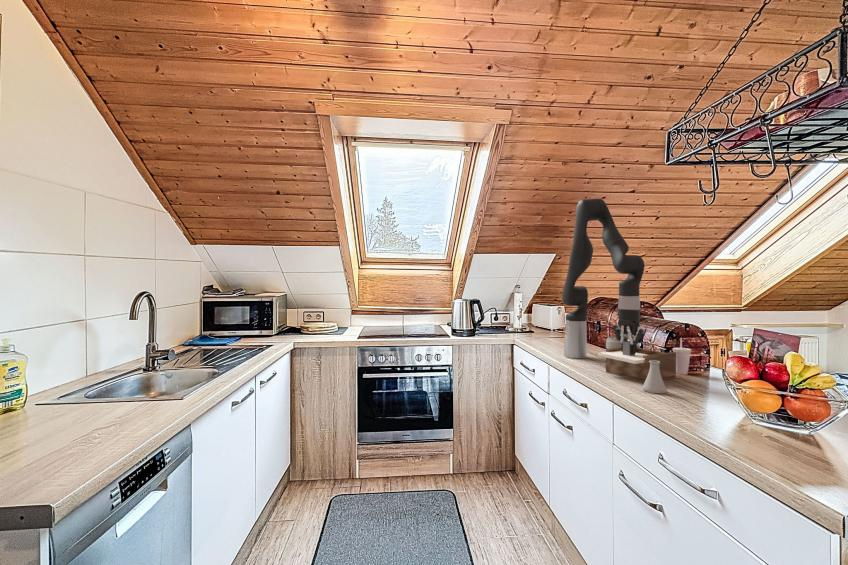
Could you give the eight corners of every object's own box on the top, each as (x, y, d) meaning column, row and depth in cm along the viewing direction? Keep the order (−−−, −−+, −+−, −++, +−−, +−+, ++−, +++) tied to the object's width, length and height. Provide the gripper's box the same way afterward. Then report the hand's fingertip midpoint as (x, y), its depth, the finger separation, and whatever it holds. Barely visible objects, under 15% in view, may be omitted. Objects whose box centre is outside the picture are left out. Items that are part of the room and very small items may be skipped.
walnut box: (605, 372, 170) (605, 348, 170) (634, 368, 176) (634, 345, 176) (645, 382, 153) (645, 356, 153) (675, 378, 160) (676, 352, 160)
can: (605, 366, 181) (606, 338, 181) (605, 362, 188) (605, 335, 187) (625, 367, 178) (625, 338, 178) (624, 364, 185) (624, 336, 185)
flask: (671, 394, 139) (671, 363, 139) (649, 394, 139) (649, 363, 138) (659, 388, 146) (659, 359, 146) (638, 388, 146) (638, 359, 146)
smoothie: (668, 372, 169) (668, 337, 168) (679, 371, 171) (679, 336, 171) (684, 376, 163) (684, 339, 163) (695, 374, 166) (695, 338, 165)
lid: (598, 355, 167) (598, 339, 167) (623, 353, 173) (623, 337, 173) (635, 363, 152) (635, 346, 152) (661, 360, 157) (661, 343, 157)
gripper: (606, 307, 167) (606, 351, 167) (638, 309, 154) (637, 357, 154) (620, 306, 170) (620, 349, 170) (652, 308, 157) (652, 355, 157)
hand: (628, 353), depth 162 cm, fingers closed on lid, 3 cm apart
